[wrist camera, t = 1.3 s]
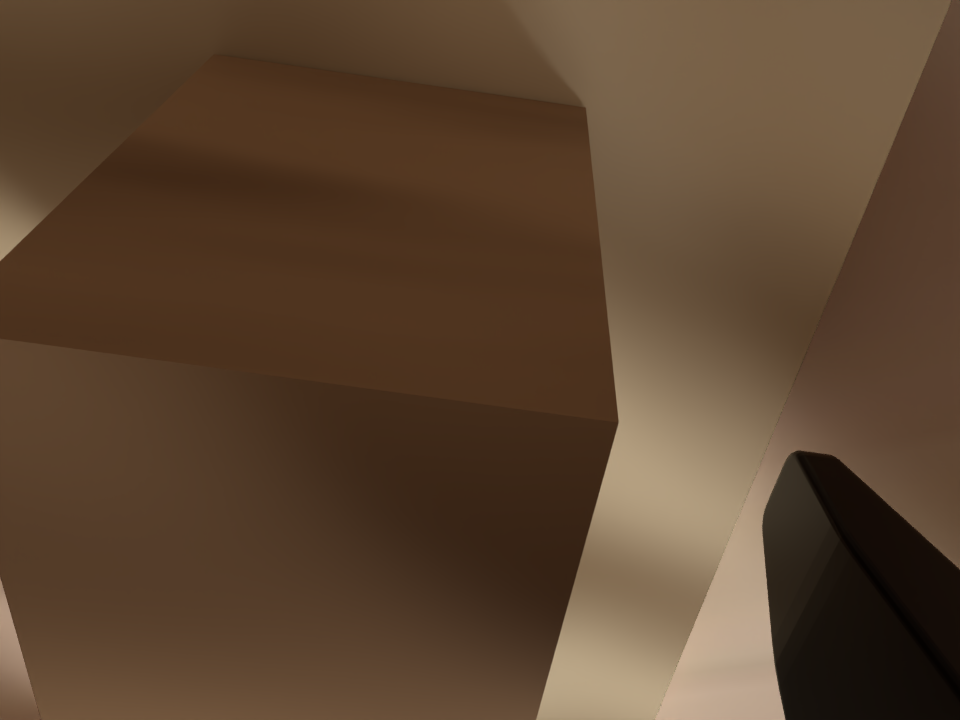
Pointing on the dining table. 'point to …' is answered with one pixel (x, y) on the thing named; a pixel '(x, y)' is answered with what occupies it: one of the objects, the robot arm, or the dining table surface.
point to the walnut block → (306, 405)
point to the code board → (620, 212)
